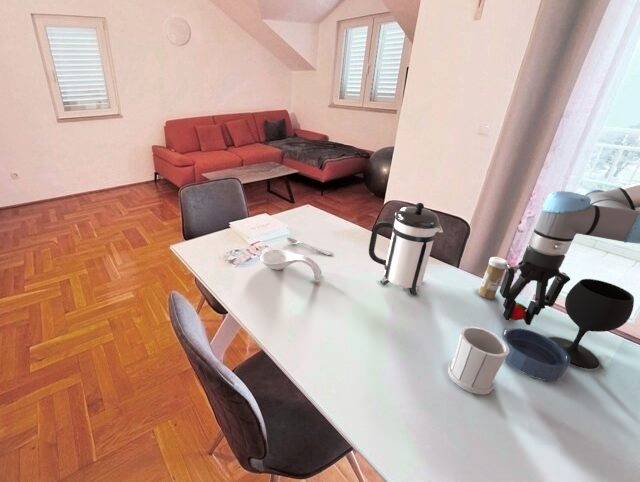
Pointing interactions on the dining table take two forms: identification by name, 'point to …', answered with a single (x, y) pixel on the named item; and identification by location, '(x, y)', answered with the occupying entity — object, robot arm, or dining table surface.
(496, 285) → the sprinkles bottle
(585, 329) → the wine glass
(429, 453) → the dining table surface
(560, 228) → the robot arm
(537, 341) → the bowl
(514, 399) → the dining table surface
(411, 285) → the coffee press
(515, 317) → the strawberry
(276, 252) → the spoon rest
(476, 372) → the cup
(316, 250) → the spoon
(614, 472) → the dining table surface
